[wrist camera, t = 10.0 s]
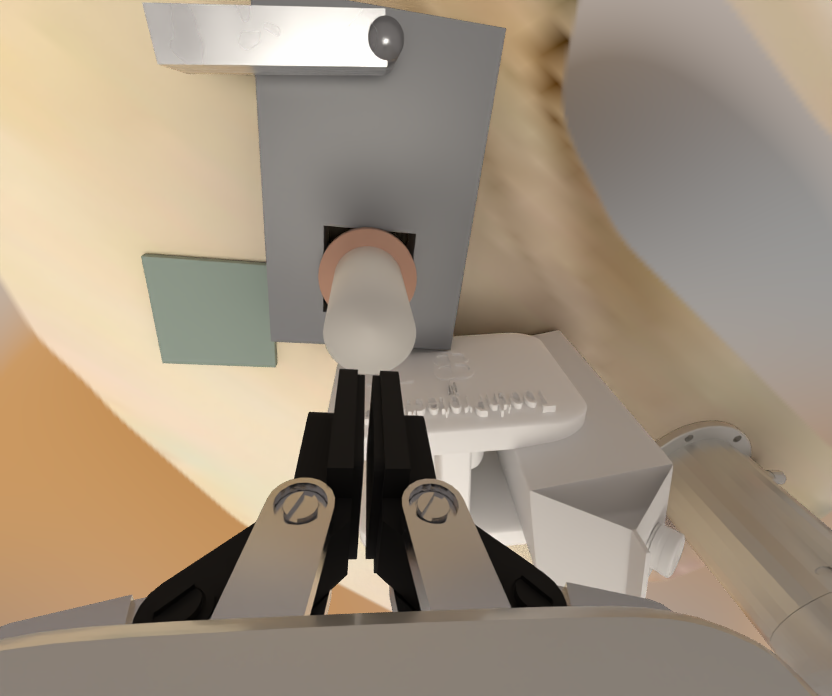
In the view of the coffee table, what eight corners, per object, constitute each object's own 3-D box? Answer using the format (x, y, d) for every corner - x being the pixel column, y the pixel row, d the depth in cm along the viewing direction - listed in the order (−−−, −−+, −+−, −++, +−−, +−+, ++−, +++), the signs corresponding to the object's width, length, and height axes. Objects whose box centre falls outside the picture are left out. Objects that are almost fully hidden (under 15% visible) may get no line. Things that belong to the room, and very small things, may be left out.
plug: (412, 217, 28) (445, 275, 17) (404, 297, 30) (427, 392, 19) (325, 209, 27) (299, 264, 16) (325, 292, 29) (302, 388, 18)
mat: (271, 263, 28) (270, 265, 27) (277, 363, 32) (275, 367, 31) (145, 253, 27) (141, 256, 26) (166, 359, 30) (162, 363, 30)
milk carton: (482, 413, 36) (563, 656, 20) (472, 345, 33) (559, 569, 16) (561, 398, 36) (711, 631, 19) (559, 328, 33) (739, 536, 16)
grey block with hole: (484, 43, 23) (506, 28, 20) (440, 325, 32) (450, 349, 28) (268, 7, 22) (249, -17, 18) (281, 316, 30) (270, 341, 26)
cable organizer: (356, 439, 36) (344, 562, 26) (341, 332, 31) (318, 433, 21) (523, 426, 36) (576, 542, 26) (535, 320, 31) (606, 412, 21)
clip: (396, 80, 20) (404, 66, 16) (202, 78, 19) (157, 64, 15) (394, 35, 19) (403, 9, 15) (192, 31, 19) (142, 2, 14)
